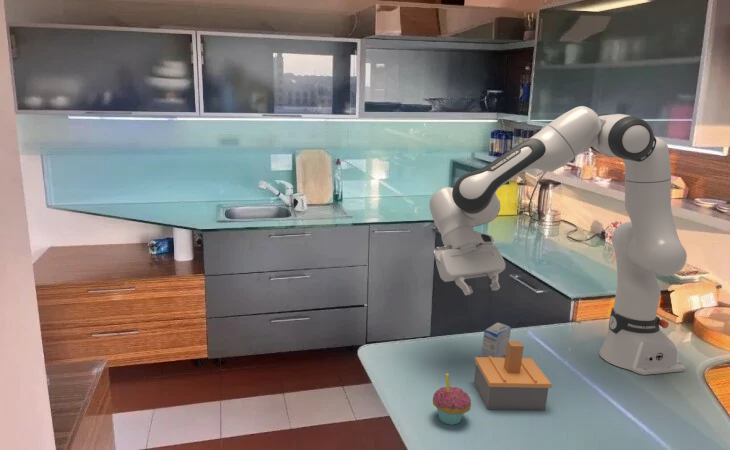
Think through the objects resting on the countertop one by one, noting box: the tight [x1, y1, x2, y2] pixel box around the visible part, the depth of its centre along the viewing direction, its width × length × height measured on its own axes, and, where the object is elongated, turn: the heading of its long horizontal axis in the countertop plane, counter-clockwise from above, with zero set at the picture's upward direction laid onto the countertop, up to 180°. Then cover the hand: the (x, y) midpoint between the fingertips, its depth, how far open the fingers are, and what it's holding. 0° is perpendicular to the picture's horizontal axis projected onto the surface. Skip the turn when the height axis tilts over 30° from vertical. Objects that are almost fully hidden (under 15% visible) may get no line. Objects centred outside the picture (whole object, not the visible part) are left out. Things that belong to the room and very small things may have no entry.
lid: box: [474, 340, 553, 389], centre depth 138 cm, size 15×13×10 cm
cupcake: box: [432, 370, 472, 426], centre depth 127 cm, size 9×8×12 cm
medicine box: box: [480, 322, 512, 358], centre depth 160 cm, size 8×4×9 cm, turn 141°
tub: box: [473, 363, 549, 411], centre depth 139 cm, size 14×12×6 cm
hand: (483, 291), depth 145 cm, fingers open, 8 cm apart
